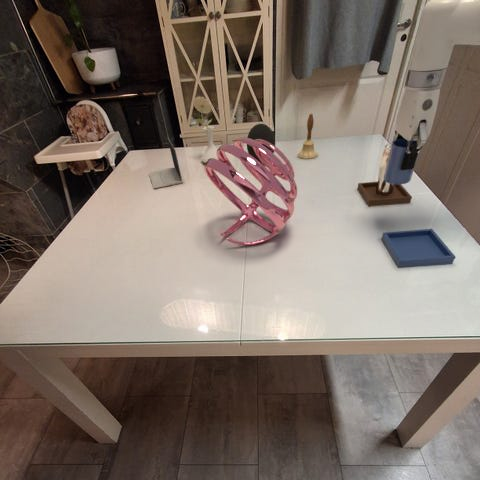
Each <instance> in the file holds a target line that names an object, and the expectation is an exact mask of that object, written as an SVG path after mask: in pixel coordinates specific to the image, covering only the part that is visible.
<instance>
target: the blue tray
mask: <svg viewBox="0 0 480 480" xmlns="http://www.w3.org/2000/svg"><path fill="white" fill-rule="evenodd" d="M381 241H382V243H383V244H384V246H385V248H386V250H387V252H388V253H389V254H390V256H391V258H392V260H393V261H394V263H395V265H396V267H397V268H410V267H421V266H422V267H423V266H424V267H425V266H437V265H450V264H451V265H452V264H453V263H454V261H455V259H456V255H455V254H454V252H452V251H451V249H450V248H449V247H448V245H446V243H445V242H444V241H443V239H441V238H440V235H438V234H437V233H436V231H435V230H434V229H433V228H423V229H411V230H410V229H409V230H400V231H399V230H397V231H387V232H385V231H384V232H382V235H381Z"/></svg>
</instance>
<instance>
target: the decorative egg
mask: <svg viewBox="0 0 480 480" xmlns="http://www.w3.org/2000/svg"><path fill="white" fill-rule="evenodd" d="M246 138H250V139H253V140H255V139H262V140H265V141H268V142H269V143H271V144H273V145H274V146H275V147H276V137H275V134H274V132H273V130H272V129H271V128H270V127H269V126H268V125H267V124H265V123H257V124H255V125H253V126H252V127H251V128H250V130H249V132H248V134H247V136H246ZM262 145H263V146H265V147H266V148H267V149H269V150H270V151H271V152H272V153H273V154H275V151H274V150H272V149H271V148H270V147H268V146H266V145H264V144H262ZM246 149H247V153H249V154H250V155H251V156H253V157H254V158H255V159H257V160H258V161H259V162H260V163H261V164H263V163H262V161H261V160H260V159H259V158H258V156H257V155H256V153H255V151H254V149H253V147H252V146H250V145H248V144H246Z"/></svg>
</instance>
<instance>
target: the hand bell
mask: <svg viewBox="0 0 480 480" xmlns="http://www.w3.org/2000/svg"><path fill="white" fill-rule="evenodd" d="M314 123H315V122H314V114H313V113H310V114H309V115H308V118H307V122H306V128H307V136H306V140H305V141H304V142H303V144H302V149H301V150H300V152H299V153H298V155H297V156H298V158H300V159H304V160H311V159H314V158H316V157H317V156H318V154H317V152H316V150H315V144H314V141H313V140H312V131H313V128H314Z"/></svg>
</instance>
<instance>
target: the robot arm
mask: <svg viewBox="0 0 480 480" xmlns="http://www.w3.org/2000/svg"><path fill="white" fill-rule="evenodd" d="M455 45H465V46H480V0H429V1H427V3H426V4H424V6H423V8H422V11H421V14H420V19H419V23H418V28H417V33H416V35H415V40H414V44H413V48H412V52H411V57H410V61H409V65H408V69H407V74H406V77H405V81H404V86H403V89H404V92H403V96H402V98H401V101H400V105H399V109H398V112H397V117H396V121H395V127H394V129H395V130H394V134H395V135H394V137H393V141H394V140H398V139H404V138H405V139H406V140H407V151H406V153H404V156H403V160H402V163H401V167H400V169H401V170H409V169H413V168H414V169H415V167H416V164H415V162H416V163H417V161H416V159H417V160H418V158H417V156H418V157H419V154H420V152H421V149H422V148H423V147H424V145H425V144H426V142H427V141H428V138H429V137H430V134H431V133H432V132H431V131H432V129H433V124H434V121H435V117H436V113H437V109H438V105H439V100H440V94H441V88H442V86H443V81H444V79H445V75H446V73H447V69H448V66H449V63H450V60H451V56H452V53H453V50H454V46H455ZM416 141H417V142H416ZM412 142H416V143H415V144H414V145H413V146H412V147H411V144H412ZM418 153H419V154H418ZM414 166H415V167H414Z"/></svg>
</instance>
